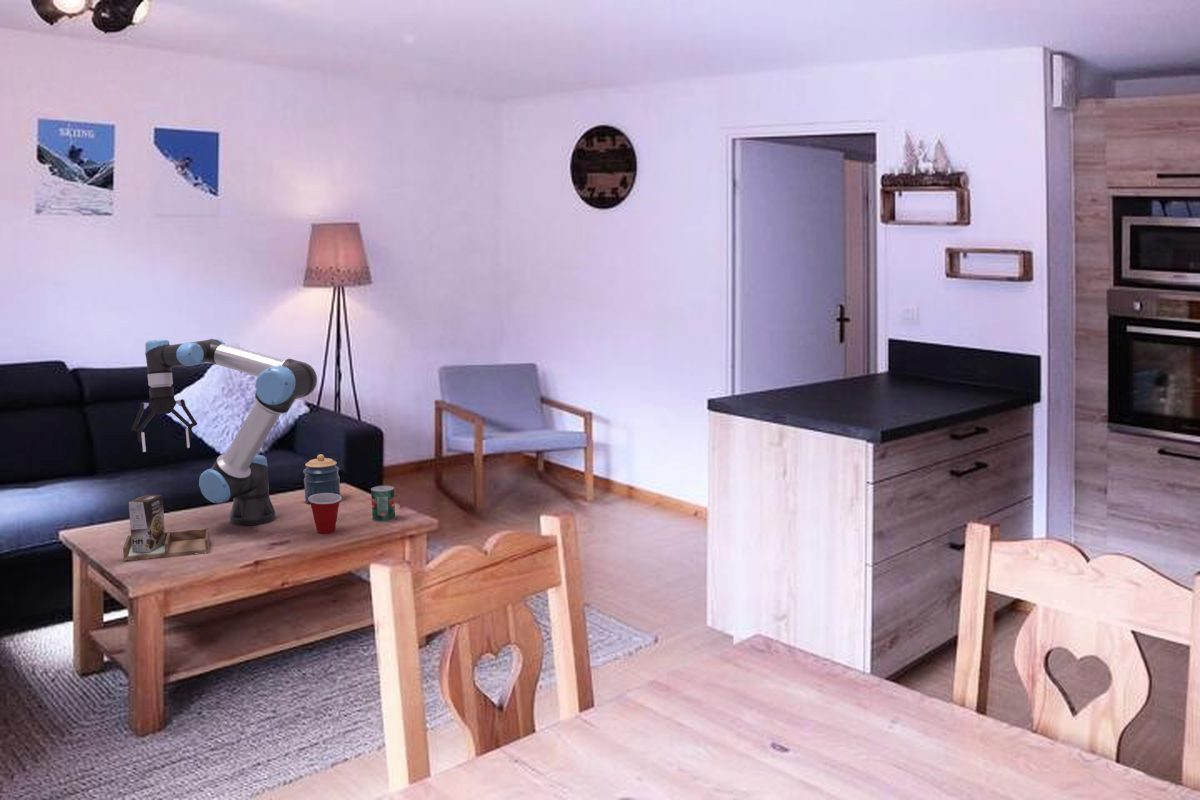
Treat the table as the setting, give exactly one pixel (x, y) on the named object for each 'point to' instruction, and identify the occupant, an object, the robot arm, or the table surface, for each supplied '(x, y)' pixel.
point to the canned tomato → (383, 503)
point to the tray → (173, 545)
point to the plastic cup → (325, 511)
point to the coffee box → (147, 523)
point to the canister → (321, 477)
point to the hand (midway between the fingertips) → (166, 449)
